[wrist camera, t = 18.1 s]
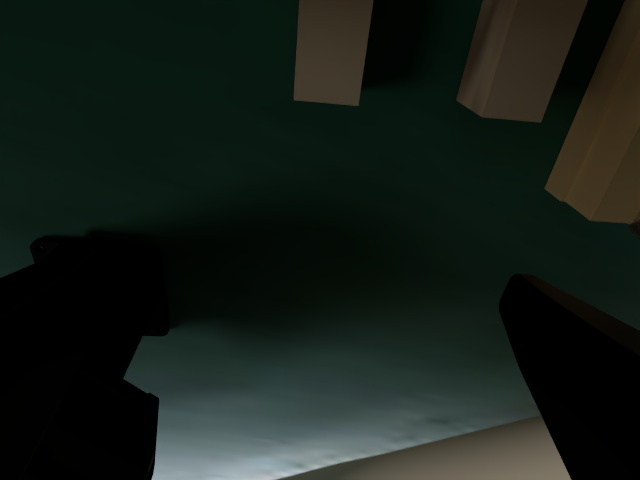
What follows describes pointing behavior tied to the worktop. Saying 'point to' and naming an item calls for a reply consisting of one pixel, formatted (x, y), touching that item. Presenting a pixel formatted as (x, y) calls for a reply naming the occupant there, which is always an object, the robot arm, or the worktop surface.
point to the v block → (606, 132)
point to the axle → (636, 225)
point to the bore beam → (482, 63)
